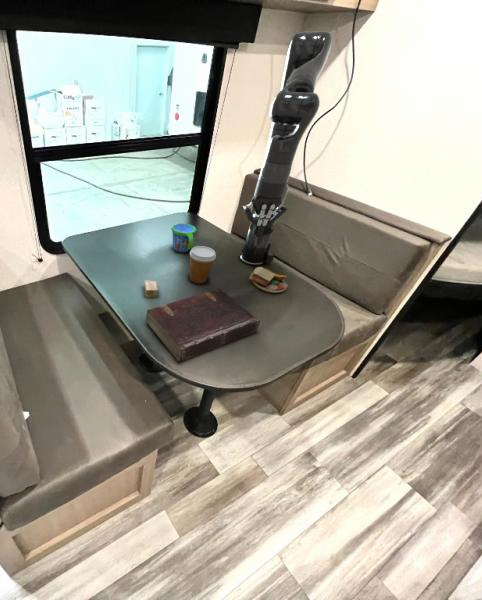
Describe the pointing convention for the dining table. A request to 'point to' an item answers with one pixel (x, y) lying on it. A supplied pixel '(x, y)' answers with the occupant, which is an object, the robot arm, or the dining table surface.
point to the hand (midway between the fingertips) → (256, 235)
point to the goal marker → (150, 289)
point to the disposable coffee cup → (201, 263)
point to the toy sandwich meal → (268, 280)
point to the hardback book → (200, 323)
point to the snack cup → (183, 237)
